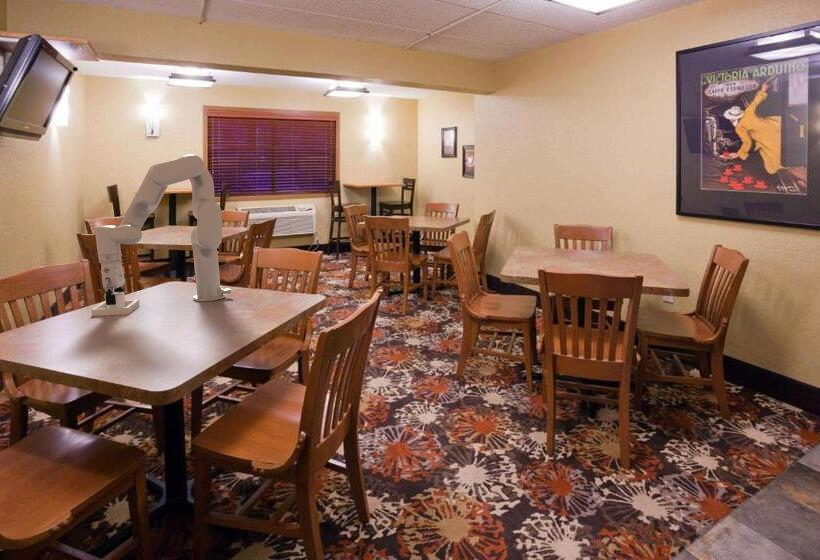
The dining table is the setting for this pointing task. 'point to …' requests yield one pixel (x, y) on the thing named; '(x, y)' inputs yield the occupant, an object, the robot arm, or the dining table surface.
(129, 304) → the box
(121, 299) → the shot glass
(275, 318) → the dining table surface
